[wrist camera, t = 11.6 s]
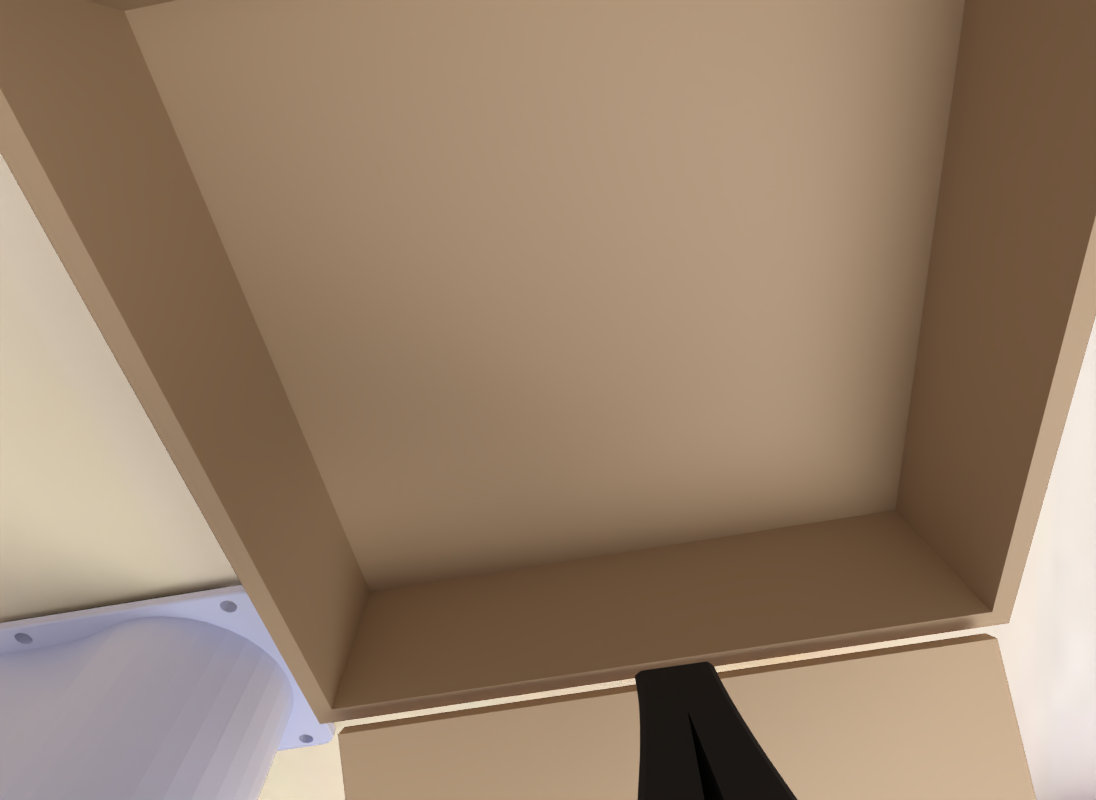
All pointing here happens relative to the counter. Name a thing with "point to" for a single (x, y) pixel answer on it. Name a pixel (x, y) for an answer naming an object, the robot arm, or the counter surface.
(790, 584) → the carton
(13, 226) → the counter surface
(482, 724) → the flap
